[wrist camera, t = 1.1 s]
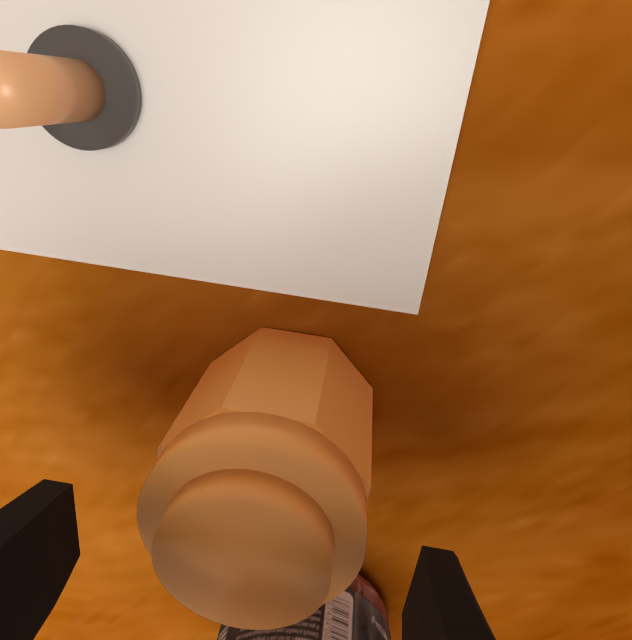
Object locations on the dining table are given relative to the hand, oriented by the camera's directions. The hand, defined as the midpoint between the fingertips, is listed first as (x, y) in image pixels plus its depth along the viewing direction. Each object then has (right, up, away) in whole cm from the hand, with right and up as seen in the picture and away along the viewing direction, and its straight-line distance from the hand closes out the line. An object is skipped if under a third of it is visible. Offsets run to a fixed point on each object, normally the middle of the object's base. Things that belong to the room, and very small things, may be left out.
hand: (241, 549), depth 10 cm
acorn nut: (+1, +2, +5) cm, 5 cm away
